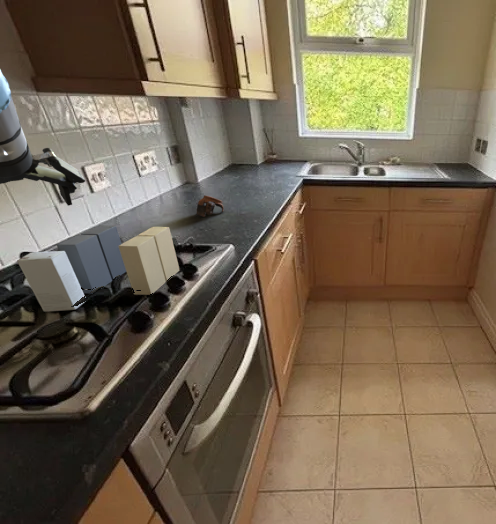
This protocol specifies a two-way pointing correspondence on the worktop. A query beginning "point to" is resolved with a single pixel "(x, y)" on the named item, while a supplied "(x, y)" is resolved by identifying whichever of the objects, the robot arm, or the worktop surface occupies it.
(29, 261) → the cosmetic box
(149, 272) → the cream boxes
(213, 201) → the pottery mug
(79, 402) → the worktop surface
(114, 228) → the grey books
